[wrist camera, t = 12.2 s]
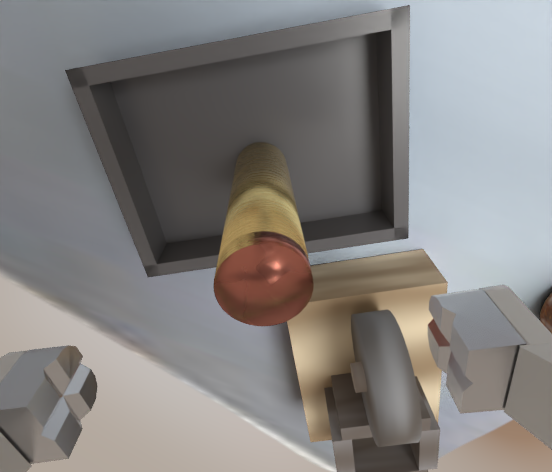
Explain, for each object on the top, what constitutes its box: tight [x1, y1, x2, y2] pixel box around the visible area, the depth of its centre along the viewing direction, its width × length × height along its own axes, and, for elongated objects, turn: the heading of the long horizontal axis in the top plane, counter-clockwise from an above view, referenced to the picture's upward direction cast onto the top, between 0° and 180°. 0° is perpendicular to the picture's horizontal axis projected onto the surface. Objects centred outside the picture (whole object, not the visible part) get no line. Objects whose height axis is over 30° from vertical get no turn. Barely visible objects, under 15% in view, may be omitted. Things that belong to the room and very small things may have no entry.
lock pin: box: [214, 142, 314, 326], centre depth 16 cm, size 3×3×12 cm
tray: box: [65, 5, 410, 277], centre depth 21 cm, size 16×12×4 cm
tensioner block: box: [287, 249, 448, 472], centre depth 24 cm, size 14×10×11 cm
